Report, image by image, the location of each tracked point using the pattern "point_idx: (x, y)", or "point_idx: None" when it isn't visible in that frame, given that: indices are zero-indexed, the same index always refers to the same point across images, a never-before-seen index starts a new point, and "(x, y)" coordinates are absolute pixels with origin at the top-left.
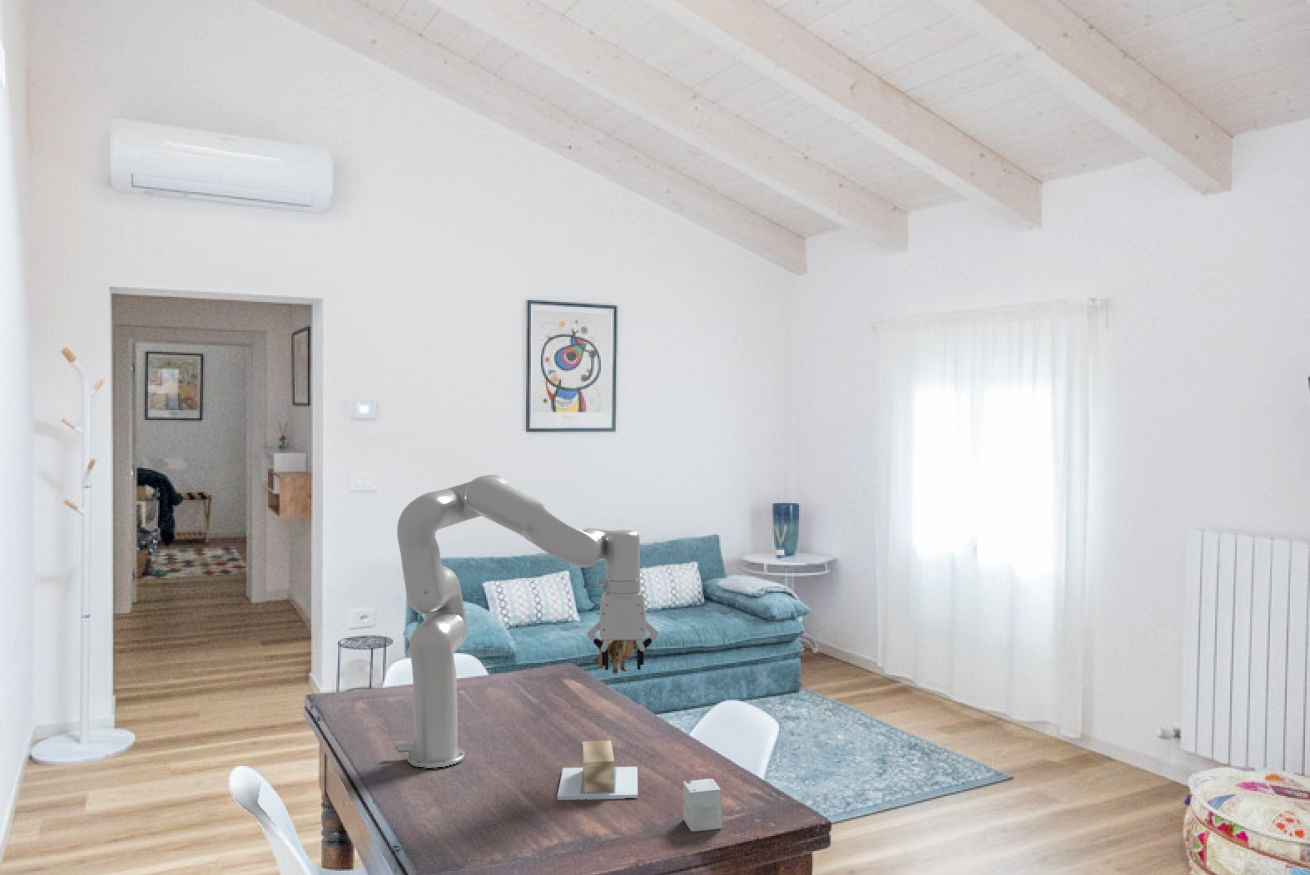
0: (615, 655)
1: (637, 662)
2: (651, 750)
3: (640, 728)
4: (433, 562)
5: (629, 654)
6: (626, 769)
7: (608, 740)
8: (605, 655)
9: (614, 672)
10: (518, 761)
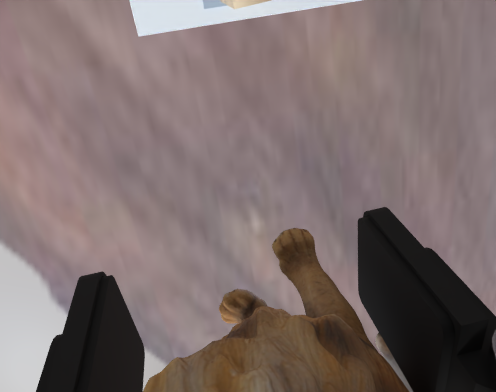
0: (345, 327)
1: (99, 317)
2: (141, 205)
3: (205, 332)
4: None
5: (179, 360)
6: (168, 3)
7: (244, 6)
8: (458, 292)
9: (301, 236)
10: (484, 73)
